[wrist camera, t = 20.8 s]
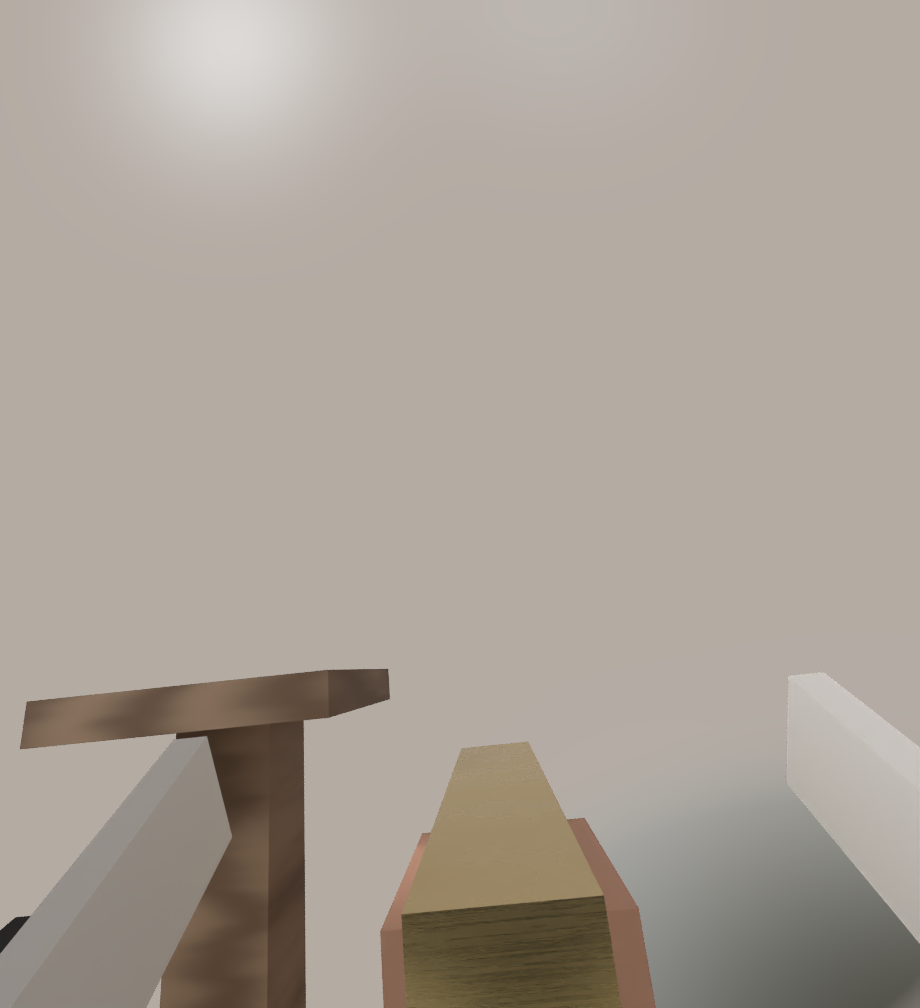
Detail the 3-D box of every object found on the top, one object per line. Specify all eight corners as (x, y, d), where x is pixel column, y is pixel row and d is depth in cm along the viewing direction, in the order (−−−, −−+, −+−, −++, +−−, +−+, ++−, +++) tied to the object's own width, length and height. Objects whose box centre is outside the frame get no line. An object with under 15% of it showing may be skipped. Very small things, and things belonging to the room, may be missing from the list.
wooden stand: (-135, 1823, 15) (26, 701, 24) (163, 1275, 28) (194, 689, 37) (352, 1803, 14) (327, 670, 23) (420, 1257, 28) (388, 669, 37)
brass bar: (412, 1112, 9) (401, 914, 10) (466, 804, 30) (461, 748, 31) (634, 1092, 9) (604, 895, 10) (535, 797, 30) (528, 741, 31)
